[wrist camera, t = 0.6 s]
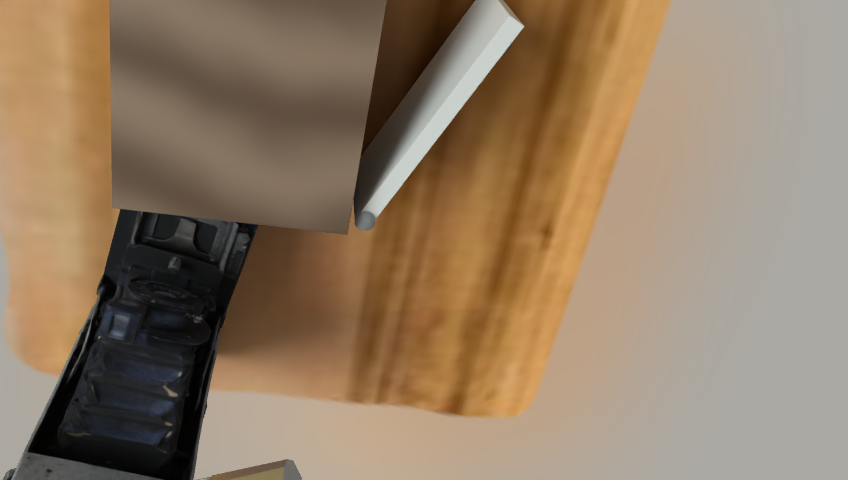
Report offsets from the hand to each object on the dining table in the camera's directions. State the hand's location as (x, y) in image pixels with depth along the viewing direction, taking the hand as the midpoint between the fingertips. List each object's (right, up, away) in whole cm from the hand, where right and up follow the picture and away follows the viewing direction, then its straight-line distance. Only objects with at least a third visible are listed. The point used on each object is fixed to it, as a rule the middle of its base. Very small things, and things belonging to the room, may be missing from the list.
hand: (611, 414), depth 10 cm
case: (-13, +14, +36) cm, 41 cm away
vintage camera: (-20, +1, +44) cm, 48 cm away
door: (-2, +12, +39) cm, 41 cm away
